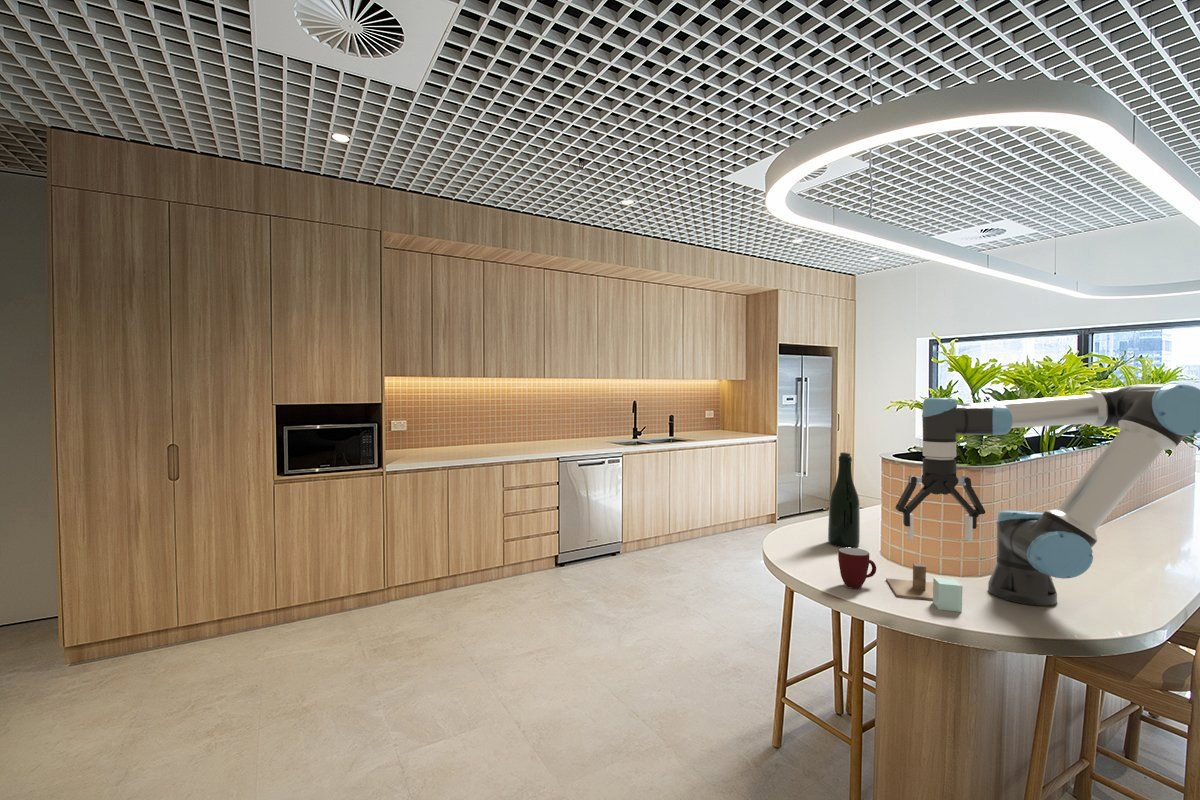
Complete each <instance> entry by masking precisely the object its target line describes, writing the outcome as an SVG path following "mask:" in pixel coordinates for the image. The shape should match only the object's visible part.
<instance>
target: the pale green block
mask: <svg viewBox="0 0 1200 800" xmlns="http://www.w3.org/2000/svg"><path fill="white" fill-rule="evenodd" d="M932 603H933V604H934V606H935V607H936V608H937V609H938V610H940V611H951V612H960V613H963V584H962V583H960V581H958V580H957V579H956V578H947V577H946V578H945V577H933V600H932Z"/></svg>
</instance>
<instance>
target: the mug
mask: <svg viewBox="0 0 1200 800" xmlns="http://www.w3.org/2000/svg"><path fill="white" fill-rule="evenodd" d="M837 554H838V555H837V556H838V557H837V560H838V566H839V573H840V577H841V579H842V582H843V583H844V585H845V587H847V588H849V589H854V590H856V589H857V590H858V589H861V588H862V587H863V585H864V583H865V582H866V579H867V578H872V577H873V576H875V574H876V572H877V565H876V563H875V561H873V560H872V559H870V552H869V551H868V550H865V549H864V548H863V549H862V548H857V547H853V548H848V547H847V548H846V547H840V548H839V549H838V552H837ZM869 566H871V571H870V573H868V571H869Z"/></svg>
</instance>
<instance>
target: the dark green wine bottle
mask: <svg viewBox="0 0 1200 800" xmlns="http://www.w3.org/2000/svg"><path fill="white" fill-rule="evenodd" d="M837 460H838V469H837V471H838V472H837V477H836V482H835V483H834V486H833V488H832V490H831V493H830V497H829V506H828V523H827V524H828V526H827V529H828V530H827V542H828V543H829V544H830V545H832V546H834V545H836V546H835V547H838V546H840V548H846V547H853V548H857V547H859V546H860V542H861V541H860V540H861V538H860V537H861V536H860V535H861V533H860V532H861V531H860V530H861V528H860V526H861V525H860V523H861V522H860V521H861V520H860V519H861V518H860V517H861V516H860V515H861V513H860V510H861V509H860V507H861V506H860V499H859V494H858V492H857V489H856V486H855V484H854V480H853V475H852V474H853V473H852V469H853V468H852V463H853V462H852V461H853V457H852V456H851V452H842V451H841V452H840V454H839V456H838V459H837Z"/></svg>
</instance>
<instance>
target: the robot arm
mask: <svg viewBox="0 0 1200 800" xmlns="http://www.w3.org/2000/svg"><path fill="white" fill-rule="evenodd" d="M921 417H922V419H921V420H922V456H924V457H923V458H922V476H915V475H909V476H908V481H907V482H908V483H907V485H906V487H905V488H904V491H903V492H902V494H901V496H900V498H899V500H898V502H897V503H896V505H895V509H896V510H897V512H901V513H902V515H903V516H902V517H903V519H902V521H903V522H902V523H903V525H904V526H905V527H906V528H907V536H906V537H907V538H908V539H909V540H910V541H914V539H915V533H914V532H915V525H914V524H915V523H914V521H915V519H914V517H915V516H914V514H913V513H912V512H913V511H914V510H916V508H917V507H918V506H919V505H920V504H921V503H922V502H923V501H924V500H925V499H926V498H927V497H928V496H930V494H932V495H948V494H950V496H952V497H953V498H954V499H955V500H956V501H957V503H959V505H960V506H961V507H962V508H963V510H965V511H966V512H967V514H964V539H965V541H966V542H968V543H974V542H973V540H974V539H973V538H974V537H973V535H974V534H973V532H974V531H973V530H974V529H977V525H978V524H977V523H978V519H977V518H978V517H979V516H981V515H985V514H986V510H985V508H984V506H983V504H982V502H981V501H980V499H979V497H978V496H977V494H976V491H975V490H974V488H973V487H972V480H971V478H970V477H968V476H965V475H964V476H961V477H957V460H956V459H955V458H956V457H957V435H958V436H961V435H963V436H964V435H968V436H971V435H972V436H977V435H978V436H993V437H995V436H1001V435H1007V434H1009V433H1010V431H1011V430H1012V429H1018V428H1019V429H1020V428H1033V427H1034V428H1035V427H1036V428H1037V427H1038V428H1039V427H1054V426H1069V425H1071V426H1072V425H1088V424H1090V425H1092V426H1093V427H1096V428H1100V427H1102V428H1103V427H1112V428H1114V427H1115V428H1119V432H1118V433H1117V435H1116V436H1114V438H1113V439H1112V440H1111V442H1110V443H1109V444H1108V445H1107V447H1106V448H1105V449H1104V450H1103V451H1102V453H1101V454H1100V455H1099V457H1097V459H1096V460H1095V461H1094V463H1093V464H1092V465H1091V466H1090V468H1089V469H1087V471H1086V473H1084V474H1083V476H1082V477H1081V479H1080V480H1079V481H1078V482H1077V483H1076V484H1075V486H1074V487H1073V489H1072V490H1070V492H1069V493H1068V494H1067V496H1066V497H1065V498H1064V499H1063V500H1062V502H1061V503H1060V504H1059V505H1058V507H1057V508H1055V509H1047V510H1045V511H1044V512H1037V511H1024V510H1001V511H999V513H998V514H997V519H996V520H997V521H996V527H997V528H996V563H995V566H994V568H993V570H992V572H991V575H990V577H989V579H988V584H987V585H988V587H987V591H988V592H989V593H990V594H992V595H993V596H994V597H998V598H1000V599H1002V600H1005V601H1008V602H1009V601H1010V602H1013V603H1018V604H1023V605H1029V606H1042V607H1043V606H1044V607H1047V606H1053V605H1056V604H1057V603H1058V592H1057V589H1056V587H1055V584H1054V581H1053V579H1052V578H1056V579H1061V580H1062V579H1063V580H1064V579H1072V578H1076V577H1080V575H1083V574H1084V573H1086V572H1087V571H1088V570H1089V569H1090V567H1091V566H1092V564H1093V560H1094V555H1093V549H1092V548H1093V547H1094V546H1095V545H1096V543H1097V542H1098V540H1099V539H1098V537H1097V534H1096V532H1097V531H1096V530H1098V528H1099V527H1100V526H1101V525H1102V524H1103V522H1104V521H1105V520H1106V519H1107V518H1108V516H1109V515H1110V514H1111V512H1112V511H1113V510H1114V509H1116V507H1117V506H1118V504H1119V503H1120V502H1122V499H1124V497H1126V495H1127V493H1128V492H1129V491H1130V490H1131V489H1132V487H1133V486H1134V485H1135V484H1136V483H1137V482H1138V480H1139V479H1140V478H1141V477H1142V476H1143V474H1145V472H1146V471H1147V470H1148V468H1150V466H1151V465H1152V463H1154V461H1155V460H1156V459H1157V458H1158V456H1159V455H1160V454H1161V453H1162V452H1163V451H1167V450H1174V449H1176V448H1177V447H1178V446H1179V444H1180V443H1181V442H1182V441H1183V440H1184V438H1185V437H1186V436H1193V435H1197V434H1200V388H1198V387H1196V386H1193V385H1190V384H1184V383H1183V384H1181V383H1176V382H1170V383H1152V384H1151V383H1138V384H1133V385H1132V384H1131V385H1126V386H1119V387H1115V388H1113V387H1112V388H1107V389H1100V390H1099V389H1096V390H1091V391H1089V392H1088V393H1087V394H1081V395H1080V394H1079V395H1069V396H1068V395H1067V396H1065V395H1064V396H1053V397H1040V398H1038V397H1037V398H1026V399H1025V398H1024V399H1011V400H1000V401H999V400H997V401H985V402H970V403H963V402H957V399H956V398H954V397H928V398H925V399H924V401H923V402H922V415H921ZM920 483H921V484H922V485H923V486H922V488H921V489H920V490H919V491H918V493H916V494H915V496H914V497H913V498H912V499H911V496H912V495H913V493H914V491H915V489H916V487H917V485H919V484H920ZM958 484H960V486H962V487H963V489H964V491H965V494H967V497H968V498H969V500H970V502H971V504H972V505H973V507H974V508H973V507H972V505H970V504H969V502H968V501H967V500H966V499H965V498H964V497H963V496H962V494H960V492H959V491H958V490H957V489H956V488H955V487H956V486H957V485H958ZM910 499H911V500H910ZM909 500H910V501H909Z"/></svg>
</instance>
